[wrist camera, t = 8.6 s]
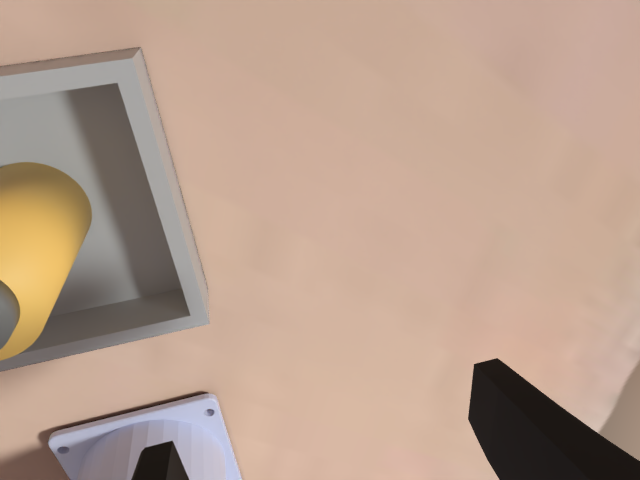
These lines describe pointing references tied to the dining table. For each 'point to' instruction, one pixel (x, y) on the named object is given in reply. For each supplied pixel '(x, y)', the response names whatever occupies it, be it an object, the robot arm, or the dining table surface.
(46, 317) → the cylinder
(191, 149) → the dining table surface
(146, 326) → the grey tray
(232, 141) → the dining table surface
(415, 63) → the dining table surface
